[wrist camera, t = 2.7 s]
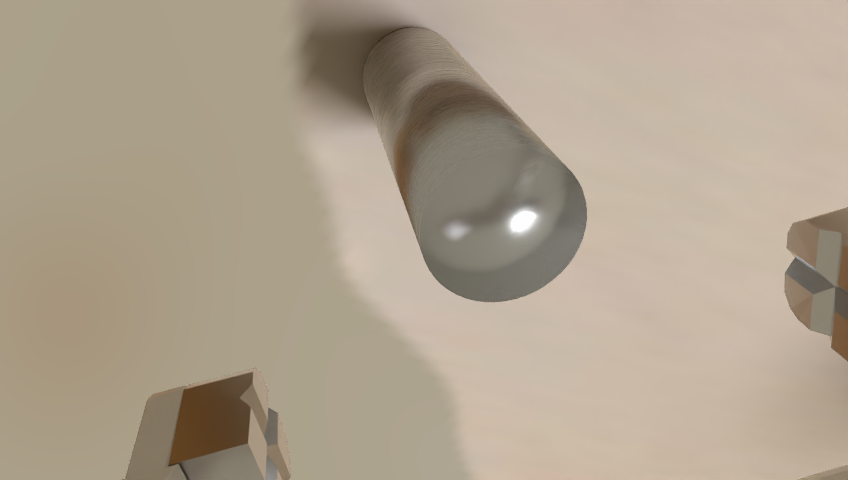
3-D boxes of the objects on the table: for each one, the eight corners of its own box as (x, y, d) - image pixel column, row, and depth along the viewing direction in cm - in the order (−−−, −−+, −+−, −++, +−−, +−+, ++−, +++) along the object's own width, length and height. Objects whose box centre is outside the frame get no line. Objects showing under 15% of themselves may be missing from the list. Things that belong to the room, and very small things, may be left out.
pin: (351, 40, 20) (404, 173, 11) (452, 16, 20) (580, 129, 11) (374, 136, 21) (437, 319, 13) (467, 113, 21) (592, 279, 13)
